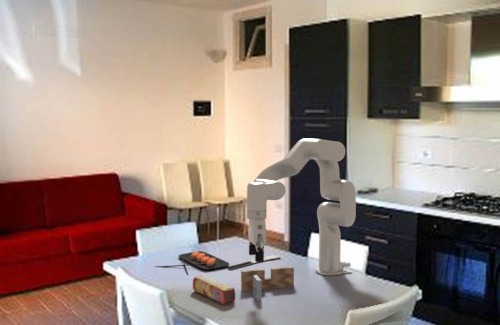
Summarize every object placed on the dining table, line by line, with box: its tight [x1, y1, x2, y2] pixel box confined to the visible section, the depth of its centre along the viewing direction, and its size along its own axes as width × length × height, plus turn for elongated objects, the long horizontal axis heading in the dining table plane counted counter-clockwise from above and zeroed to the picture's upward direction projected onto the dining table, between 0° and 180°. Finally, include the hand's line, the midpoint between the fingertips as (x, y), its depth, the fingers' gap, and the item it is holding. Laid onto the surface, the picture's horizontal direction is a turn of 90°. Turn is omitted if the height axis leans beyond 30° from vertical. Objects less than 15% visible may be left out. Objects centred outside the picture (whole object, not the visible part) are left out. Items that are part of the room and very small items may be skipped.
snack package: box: [192, 274, 236, 306], centre depth 207 cm, size 21×7×7 cm, turn 40°
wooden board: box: [240, 266, 295, 292], centre depth 216 cm, size 22×2×8 cm, turn 104°
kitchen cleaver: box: [227, 254, 282, 271], centre depth 254 cm, size 31×2×10 cm
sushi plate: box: [154, 250, 230, 276], centre depth 250 cm, size 29×30×4 cm
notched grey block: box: [252, 275, 262, 302], centre depth 205 cm, size 6×2×8 cm, turn 14°
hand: (256, 258), depth 204 cm, fingers open, 9 cm apart
